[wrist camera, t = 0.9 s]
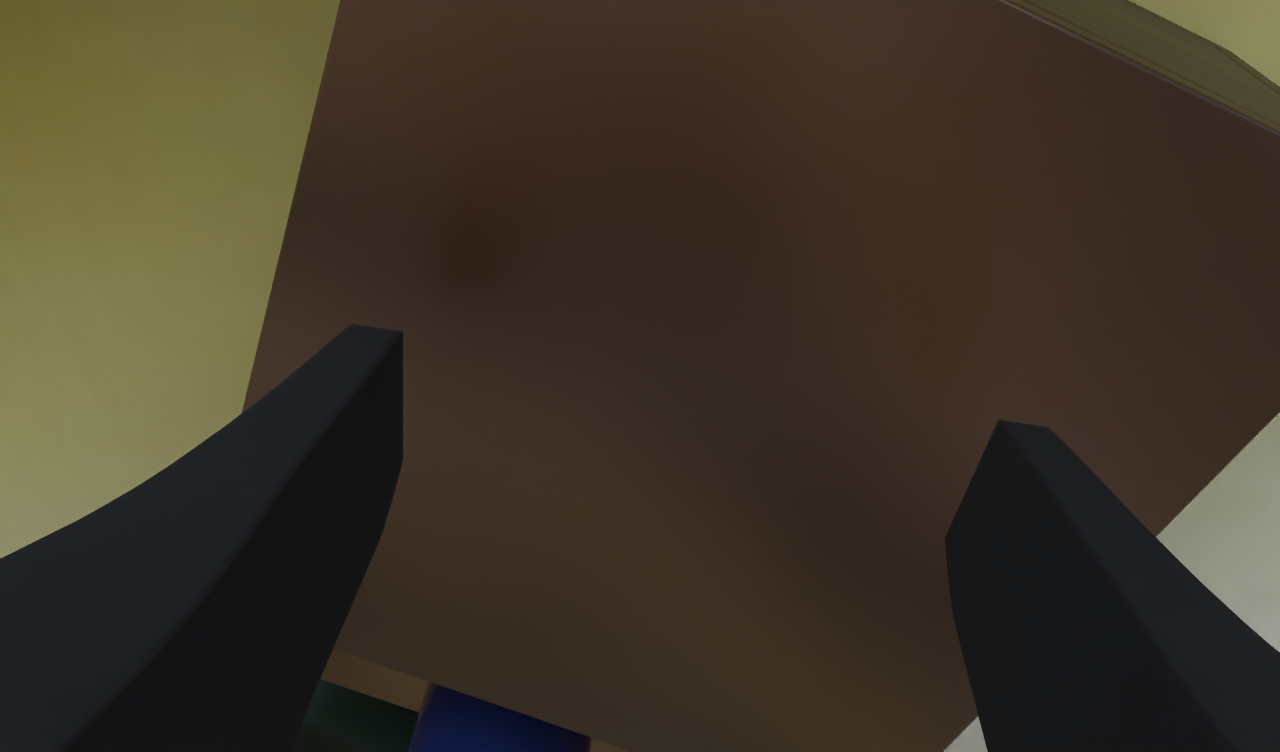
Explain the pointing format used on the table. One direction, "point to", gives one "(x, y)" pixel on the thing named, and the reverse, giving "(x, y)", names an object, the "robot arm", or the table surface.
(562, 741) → the ink bottle
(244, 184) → the table surface
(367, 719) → the drawer
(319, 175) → the cabinet
